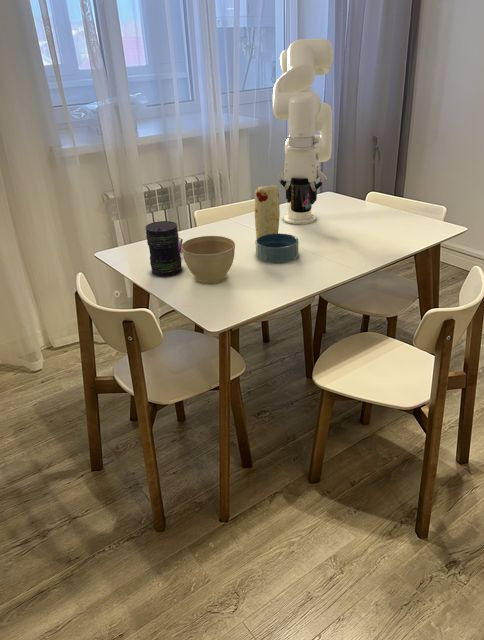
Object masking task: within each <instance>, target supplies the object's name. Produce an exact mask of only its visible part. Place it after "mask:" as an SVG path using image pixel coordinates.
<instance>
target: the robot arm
mask: <svg viewBox="0 0 484 640" xmlns="http://www.w3.org/2000/svg"><path fill="white" fill-rule="evenodd" d="M279 60H280V61H279V62H280V69H281V73H282V74H281V76H280V77H278V78H277V80H276V81H275V83H274V86H273V91H272V113H273V116H274V117H275V118H276V119H277V120H279V121H288V138H287V139H285V143H284V154H285V155H284V167H283V168H282V169H281V170H280V171H279V172H278V173H277V174H276V175H275V178H276V179H277V180H278V182H279V183H280V185H281V186H282V187H283V188H284V190H285V199H286V201H287V202H286V203H287V213H286V214H285V215H284V216H283V221H284V222H285V223H287V224H293V225H306V224H311V223H313V222H315V220H316V215H315V214H313V213H312V210H313V208H312V209H311V210H310V211H309V212H305V213H297V212H293V211H292V210H291V178H308V182H309V183H310V186H311V188H312V191H311V197H310V204H312V205H314V204H315V203H316V202H317V199H318V190H319V188H321V187H322V186H323V185H324V183H325V182H326V181H327V180H328V177H327V176H326V174H325V173H324V172H322V170H321V169H320V163H325V162H328V161H330V159H331V157H332V151H333V110H332V107H331V105H330V104H329V103H327V102H323V101H321V98H320V96H319V95H318V94H317V93H316V92H314V91H313V87H312V84H313V82H314V81H315V77H316V76H326V75H328V74H329V73H330V71H331V68H332V65H333V61H334V48H333V44H332V42H331V41H330V39H328V38H323V37H322V38H321V37H319V38H300V39H296V40H294V41H292V42H291V43H290V45H289V47H288V48H285V49H284V50H283V51H282V52H281V53H280V57H279ZM315 132H318V133H319V134H315ZM319 178H320V180H319V181H318V182H317V180H318V179H319Z"/></svg>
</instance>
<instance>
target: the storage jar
mask: <svg viewBox="0 0 484 640" xmlns="http://www.w3.org/2000/svg"><path fill="white" fill-rule="evenodd" d="M145 236H146V237H145V238H146V241H147V242H146V243H147V246H148V250H149V265H150V268H151V274H152V275H153V276H154V277H157V278H170V277H176V276H178V275H180V274H181V273H182V272H183V267H182V263H183V261H182V258H181V257H182V256H181V253H179V245H178V243H179V239H178V237H179V232H178V224H177V223H176V222H174V221H170V220H161V221H155V222H151V223H148V224H147V225H145Z"/></svg>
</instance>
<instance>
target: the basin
mask: <svg viewBox="0 0 484 640" xmlns="http://www.w3.org/2000/svg"><path fill="white" fill-rule="evenodd" d="M298 256H299V238H298V237H297V236H295V235H292V234H288V233H279V232H278V233H277V234H267V235H263V236H261V237H258V238H257V239H256V238H255V257H256V258H257V259H258V260H260V261H263V262H268V263H275V264H276V263H286V262H290V261H292V260H294V259H297V258H298Z"/></svg>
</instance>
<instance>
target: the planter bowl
mask: <svg viewBox="0 0 484 640" xmlns="http://www.w3.org/2000/svg"><path fill="white" fill-rule="evenodd" d="M181 248H182V251H183V252H182V255H183V260H184V263H185V265H186V268H187V269H188V270H189V272H191V273H192V275H193V276H194V278H195V280H196V281H197V282H199V283H202V284H216V283H220V282H222V281H224V280H225V279H226V278H227V274H228V272H229V271H230V269H231V267H232V266H233V263H234V260H235V250H236V249H235V248H236V242H235V241H234V240H233V239H232V238H229V237H226V236H221V235H202V236H197V237H193V238H189V239H186V240H185V241H184V242H182V246H181Z"/></svg>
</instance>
